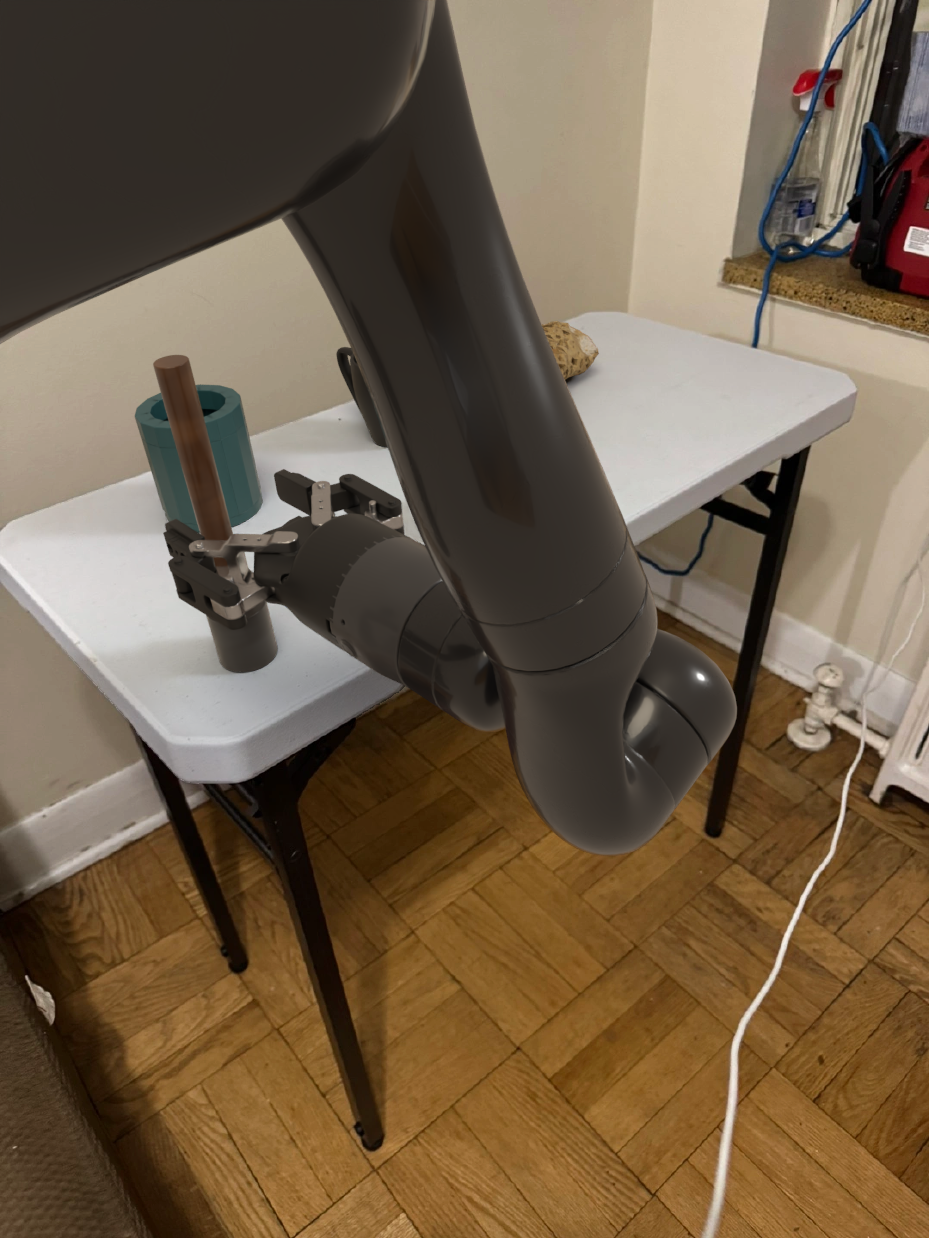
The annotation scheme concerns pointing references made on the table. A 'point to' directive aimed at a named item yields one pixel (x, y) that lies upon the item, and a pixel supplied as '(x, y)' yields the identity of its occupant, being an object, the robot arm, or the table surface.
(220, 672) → the table surface
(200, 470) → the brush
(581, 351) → the sponge
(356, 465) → the table surface
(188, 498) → the jar
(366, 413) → the mug
